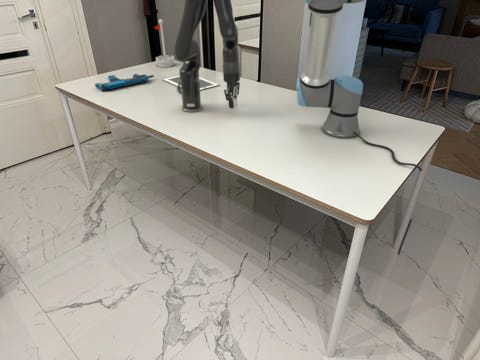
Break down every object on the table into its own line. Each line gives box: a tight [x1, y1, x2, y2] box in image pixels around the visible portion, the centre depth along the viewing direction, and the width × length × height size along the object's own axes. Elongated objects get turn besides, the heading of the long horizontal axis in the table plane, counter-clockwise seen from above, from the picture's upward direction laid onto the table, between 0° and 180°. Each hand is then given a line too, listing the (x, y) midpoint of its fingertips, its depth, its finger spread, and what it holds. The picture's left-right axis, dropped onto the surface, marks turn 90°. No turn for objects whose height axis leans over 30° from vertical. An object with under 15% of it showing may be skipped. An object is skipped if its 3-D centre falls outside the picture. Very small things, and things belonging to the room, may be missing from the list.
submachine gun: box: [94, 73, 155, 91], centre depth 208 cm, size 34×4×25 cm
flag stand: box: [153, 18, 176, 68], centre depth 235 cm, size 13×13×30 cm
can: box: [230, 98, 238, 110], centre depth 163 cm, size 4×4×4 cm
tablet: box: [162, 75, 220, 91], centre depth 208 cm, size 32×20×1 cm, turn 41°
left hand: (233, 106), depth 163 cm, fingers closed on can, 3 cm apart
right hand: (316, 28), depth 162 cm, fingers open, 13 cm apart
